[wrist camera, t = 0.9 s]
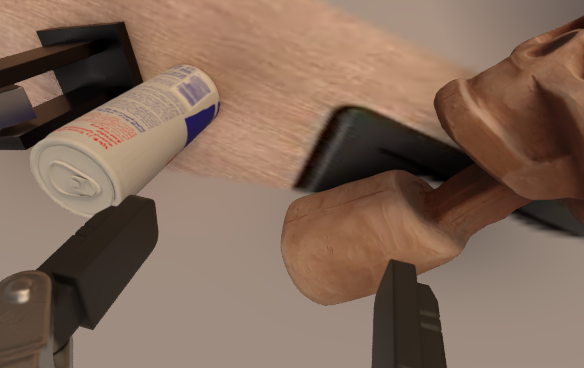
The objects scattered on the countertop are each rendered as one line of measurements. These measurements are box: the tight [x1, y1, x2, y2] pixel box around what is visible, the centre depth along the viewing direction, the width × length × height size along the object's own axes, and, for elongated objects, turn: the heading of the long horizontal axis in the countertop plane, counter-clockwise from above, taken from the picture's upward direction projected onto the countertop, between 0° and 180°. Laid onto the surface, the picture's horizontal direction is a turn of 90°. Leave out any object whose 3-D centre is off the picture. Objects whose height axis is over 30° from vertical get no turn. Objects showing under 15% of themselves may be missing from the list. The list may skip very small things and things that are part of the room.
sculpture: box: [281, 16, 584, 306], centre depth 25 cm, size 10×14×30 cm
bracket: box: [0, 22, 143, 150], centre depth 28 cm, size 8×7×12 cm
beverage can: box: [30, 65, 220, 219], centre depth 27 cm, size 6×6×15 cm
